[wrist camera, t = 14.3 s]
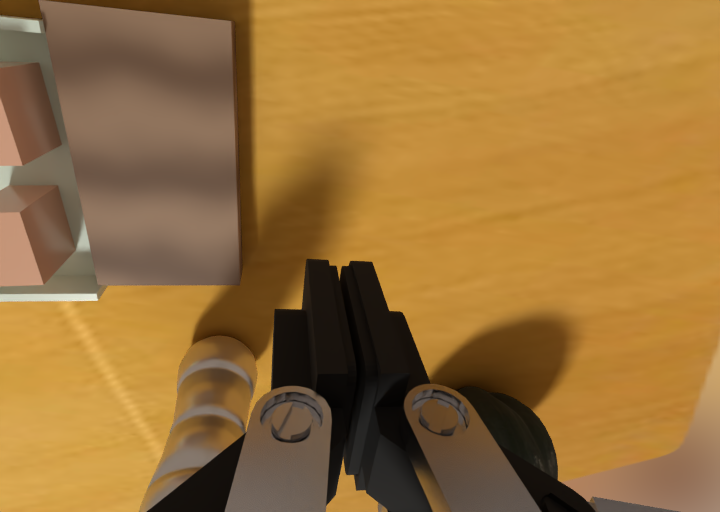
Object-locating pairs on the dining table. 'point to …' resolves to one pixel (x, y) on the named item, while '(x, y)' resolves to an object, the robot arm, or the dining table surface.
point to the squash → (514, 427)
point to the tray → (49, 175)
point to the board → (151, 141)
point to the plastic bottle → (205, 411)
